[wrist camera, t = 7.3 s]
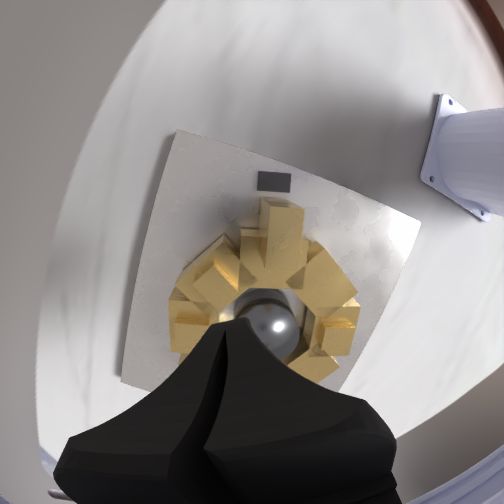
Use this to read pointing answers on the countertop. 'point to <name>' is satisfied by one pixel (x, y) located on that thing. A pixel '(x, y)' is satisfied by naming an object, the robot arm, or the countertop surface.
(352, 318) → the gold blocky ring
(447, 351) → the countertop surface
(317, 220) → the plate
